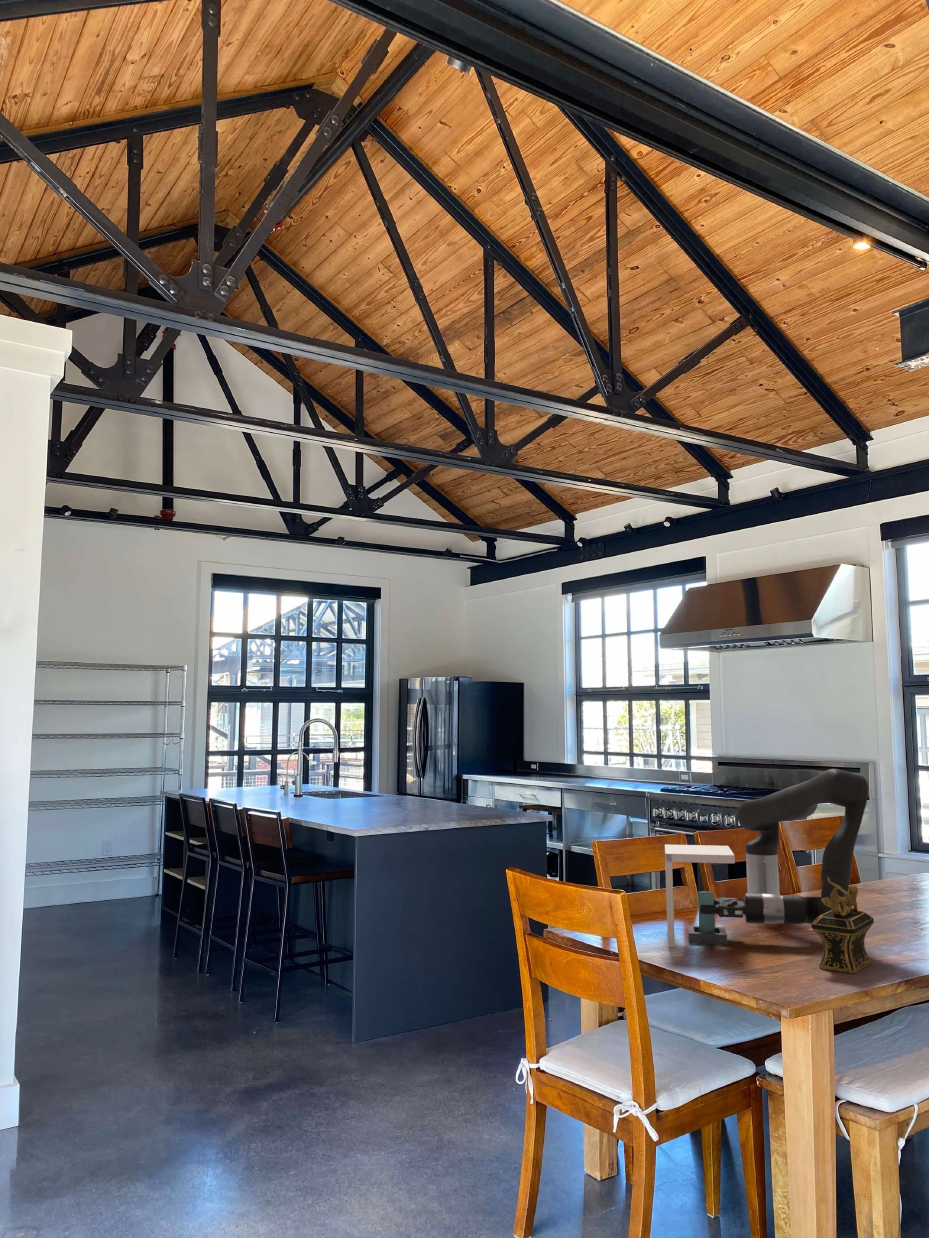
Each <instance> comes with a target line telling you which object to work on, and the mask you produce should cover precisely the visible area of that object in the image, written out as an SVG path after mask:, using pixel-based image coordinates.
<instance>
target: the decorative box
mask: <svg viewBox="0 0 929 1238" xmlns="http://www.w3.org/2000/svg"><path fill="white" fill-rule="evenodd" d="M827 877H828V876H827ZM827 879H828V881H829V883H830V884H832V885H834V886H835V888H834V889H833V891H832V893H831V899H829V898H828V897H826V898H822V902H823V903H824V904H825V905H826V906H828V907H830V908H831V909H832V910H831V911H829V912H826V913H824V914H822V915H820V916H819V917H818V918H817V919H816V920H815V921H813V922H812V924H811V925H810V926H811V929H812V930H813V931H814V932H815V933H816V935H818V936H819V938H820V940H821V941H822V944H823V955H822V957H821V959H820V963H819V965H818V968H820V969H822V970H825V969H826V971H831V970H832V971H831V972H837V971H838V972H837V973H844V974H849V975H850V974H852V975H853V974H857V973H858V972H860V971H861V970H863V969H864V968H867V966H869V965H870V964H872V960H871V959H870V956H869V955H868V953H867V951H866V946H865V940H866V939H865V938H866V936H867V933H868V931H869V930H870V928H872V926H873V925H874V922H875V920H874V919H875V918H874V917H873V916H871V915H869V914H868V913H867V912H865V911H862V910H858V902H857V896H858V893H859V888H858V887H857V886H855V885H849V889H848V892H846V891H845V890H844V889H842V888H841V887H840V886H838V885H836V884H834V883H832V882H831V881H830V878H829V877H828V878H827ZM837 888H838V889H839V890H841V891H842V892H843V893H844V894H845V896H844V897H840V896H838V894H837ZM839 904H840V905H839Z"/></svg>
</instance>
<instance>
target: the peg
mask: <svg viewBox="0 0 929 1238" xmlns="http://www.w3.org/2000/svg"><path fill="white" fill-rule="evenodd" d="M714 898H715V895H714V892H712V891H707V890H706V891H705V890H704V891H697V906H698V909H697V910H698V926H699V932H701V933H715V927H716V925H715V924H716V922H715V914H701V913H700V905H714Z"/></svg>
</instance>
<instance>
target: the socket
mask: <svg viewBox="0 0 929 1238" xmlns="http://www.w3.org/2000/svg"><path fill="white" fill-rule="evenodd" d="M687 939H689V940H688V944H694V943H697V944H699V945H716V944H721V945H722V946H728V934H727V931H726V928H725V927H724V926H715V933H701V932H699V925H687ZM700 943H702V944H700ZM697 944H696V945H697ZM721 945H720V946H721Z"/></svg>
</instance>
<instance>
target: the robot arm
mask: <svg viewBox="0 0 929 1238" xmlns="http://www.w3.org/2000/svg"><path fill="white" fill-rule="evenodd" d="M868 783H869V782H868V781H867V779H866V778H865V777H864V776H862V775H860V774H858V773H854V772H850V771H847V770H842V769H839V768H830V769H827V770H825V771H824V772H823V771H822V773H820V774H818V775H816V776H814V777H812V778H811V779H810V778H809V780H806V781H803V782H801V783H798V784H795V785H791V786H789V787H786V788H783V789H781V790H779V791H776V792H773V793H771V794H769V795H767V796H765V797H762V798H761V797H760V798H756V799H751V800H750V799H749V800H745V801H744V802H742V803H741V804H740V805H739V807H738V809H737V813H736V818H737V821H738V823H739V825H740V826H741V827H742V828H743V829H744V830H747V831H751V832H758V836H756V837H755V838H754V839H753V840H751V841H748V842H747V843H746V844H745V862H746V864H745V865H746V879H747V880H746V883H747V884H746V886H747V889H746V890H747V892H745V893H743V900H739V897H720V896H719V897H718V896H716V897H715V896H714V905H700V913H701V914H714V915H715V916H717V917H719V918H740V919H742V918H743V917H744V919H745V920H744V921H745V922H746V923H747V924H758V925H759V924H761V925H762V924H763V925H779V924H781V925H782V924H787V925H801V924H802V925H803V924H812V922H813V921H815V920H816V919H817V918H818V917H819V916H820V915H822V914H824V913H826V912H829V911H831V910H832V909H831V908H830V907H828V906H826V905H825V904H824V903H823V902H822V898H826V897H828V898H829V899H831V893H832V891H833V889H834V888H835V886H834V885H832V884H830V883H829V881H828V879H827V878H828V877H829V878H830V881H831V882H832V883H834V884H836V885H838V886H840V887H841V888H842V889H844V890H845V891H846V892H848V889H849V886H850V882H851V874H852V866H853V856H854V850H855V847H856V845H855V844H856V842H857V838H858V834H859V831H860V828H861V825H862V821H863V817H864V814H865V809H866V805H867V803H868V797H869V785H868ZM826 803H827V804H833V805H835V806H839V807H843V808H844V816H843V820H842V823H841V825H840V826H839V828H838V829H837V831H836V832H835V833H834V834H833V836H832V837H831V838H830V840H829V841H828V842H827V844H826V846H825V848H824V850H823V855H822V860H821V868H820V869H821V871H820V881H821V891H820V892H821V893H820V896H801V895H794V894H791V895H790V894H789V895H788V894H787V895H786V894H780V879H779V878H780V877H779V876H780V875H779V859H778V857H779V856H778V848H779V844H780V823H781V822H782V823H784V822H785V823H786V822H792V821H798V820H802V819H805V818H809V817H810V816H812V815H813V814H814V813H815V812H816V810H817V809H818V805H819V804H826ZM827 876H828V877H827ZM837 894H838V896H840V897H844V896H845V894H844V893H843V892H842V891H841V890H839V889H838V888H837ZM839 905H840V904H839Z"/></svg>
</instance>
